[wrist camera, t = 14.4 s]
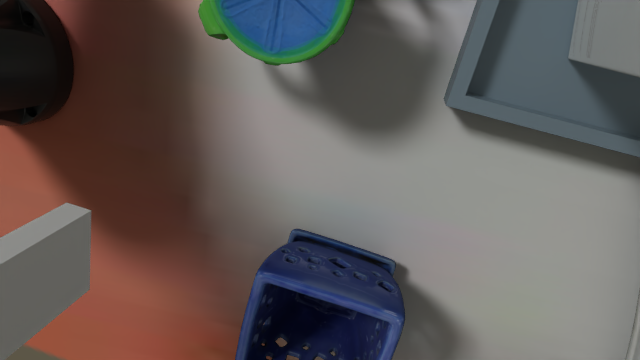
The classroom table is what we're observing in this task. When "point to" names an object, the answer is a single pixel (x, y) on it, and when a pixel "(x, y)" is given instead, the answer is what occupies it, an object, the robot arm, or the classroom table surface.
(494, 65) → the tray
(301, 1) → the snack cup
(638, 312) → the square plate
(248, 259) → the classroom table surface
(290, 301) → the flower pot
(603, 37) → the supplement box
